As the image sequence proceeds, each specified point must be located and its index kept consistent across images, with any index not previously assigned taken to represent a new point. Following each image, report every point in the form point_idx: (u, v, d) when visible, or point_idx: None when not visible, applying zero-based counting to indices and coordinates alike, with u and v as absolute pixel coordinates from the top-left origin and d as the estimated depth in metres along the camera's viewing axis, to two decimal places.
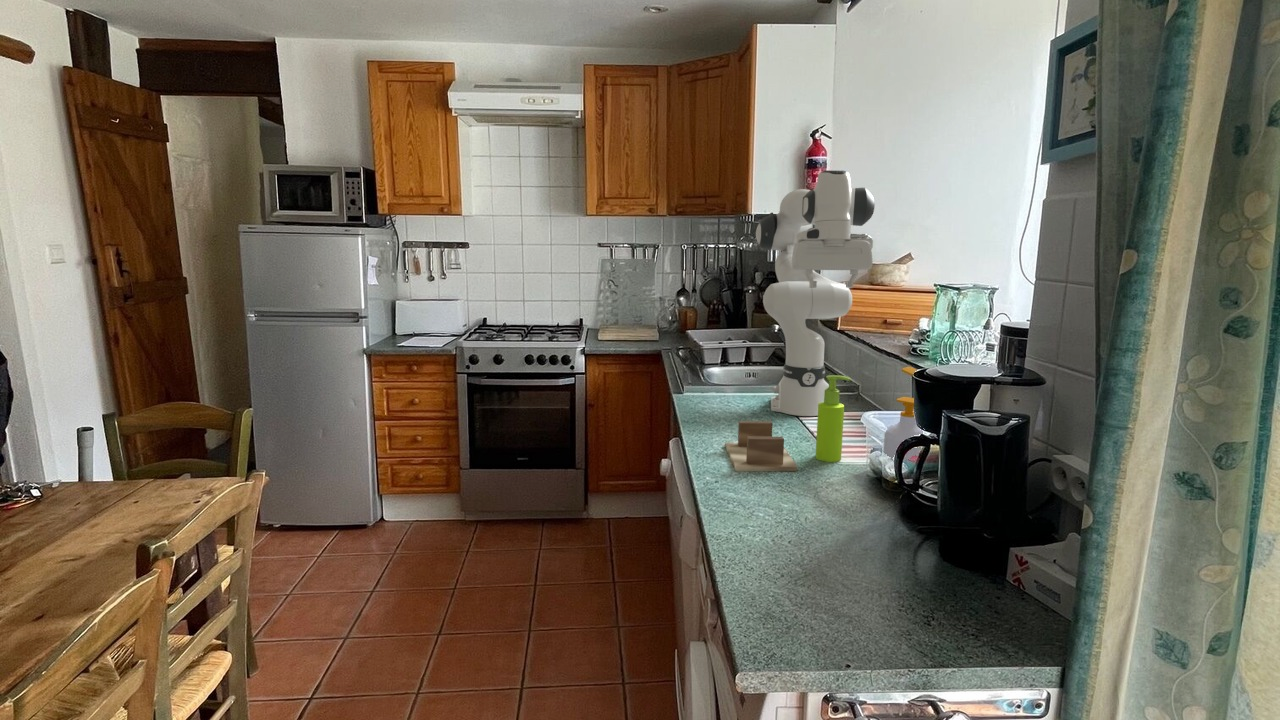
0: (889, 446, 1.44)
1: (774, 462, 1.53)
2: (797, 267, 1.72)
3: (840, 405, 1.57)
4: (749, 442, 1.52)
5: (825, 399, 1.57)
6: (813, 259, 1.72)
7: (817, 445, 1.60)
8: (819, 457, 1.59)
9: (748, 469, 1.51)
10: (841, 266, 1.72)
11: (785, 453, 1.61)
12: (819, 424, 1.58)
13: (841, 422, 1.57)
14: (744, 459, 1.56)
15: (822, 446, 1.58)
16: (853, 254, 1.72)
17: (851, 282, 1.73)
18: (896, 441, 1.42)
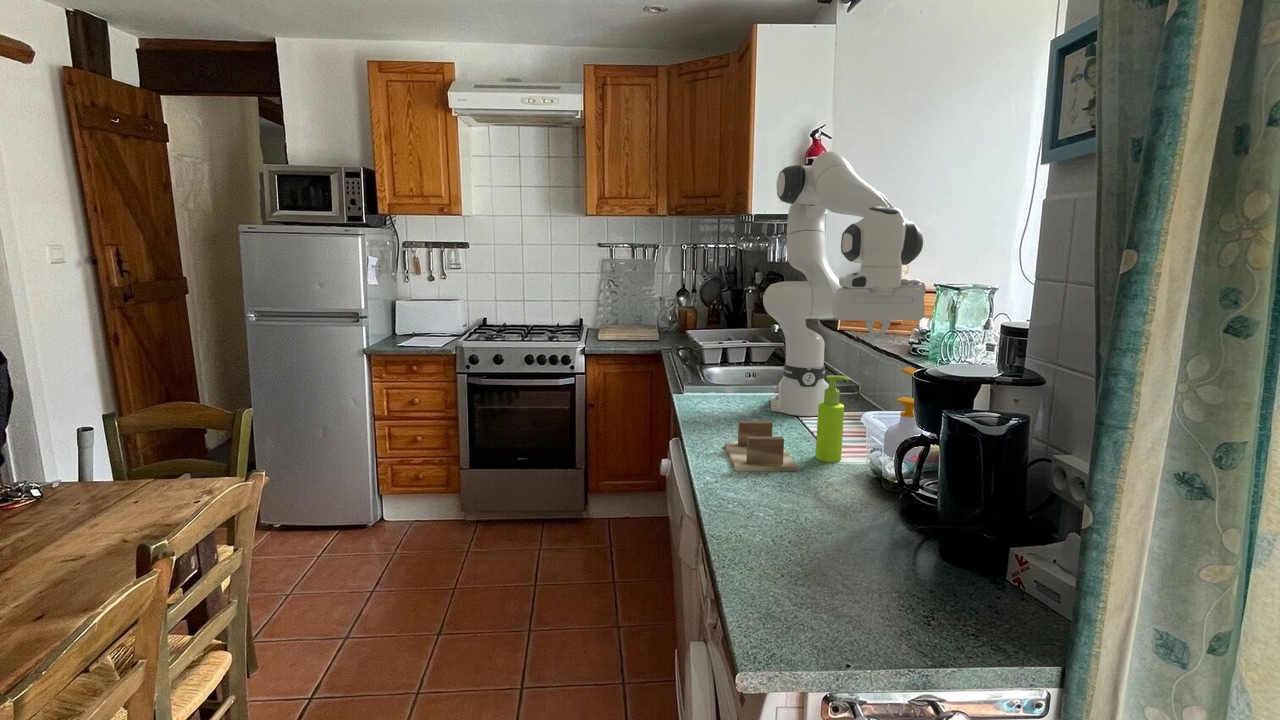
0: (889, 446, 1.44)
1: (774, 462, 1.53)
2: (839, 318, 1.53)
3: (840, 405, 1.57)
4: (749, 442, 1.52)
5: (825, 399, 1.57)
6: (857, 309, 1.52)
7: (817, 445, 1.60)
8: (819, 457, 1.59)
9: (748, 469, 1.51)
10: (889, 317, 1.53)
11: (785, 453, 1.61)
12: (819, 424, 1.58)
13: (841, 422, 1.57)
14: (744, 459, 1.56)
15: (822, 446, 1.58)
16: (903, 304, 1.52)
17: (882, 334, 1.54)
18: (896, 441, 1.42)
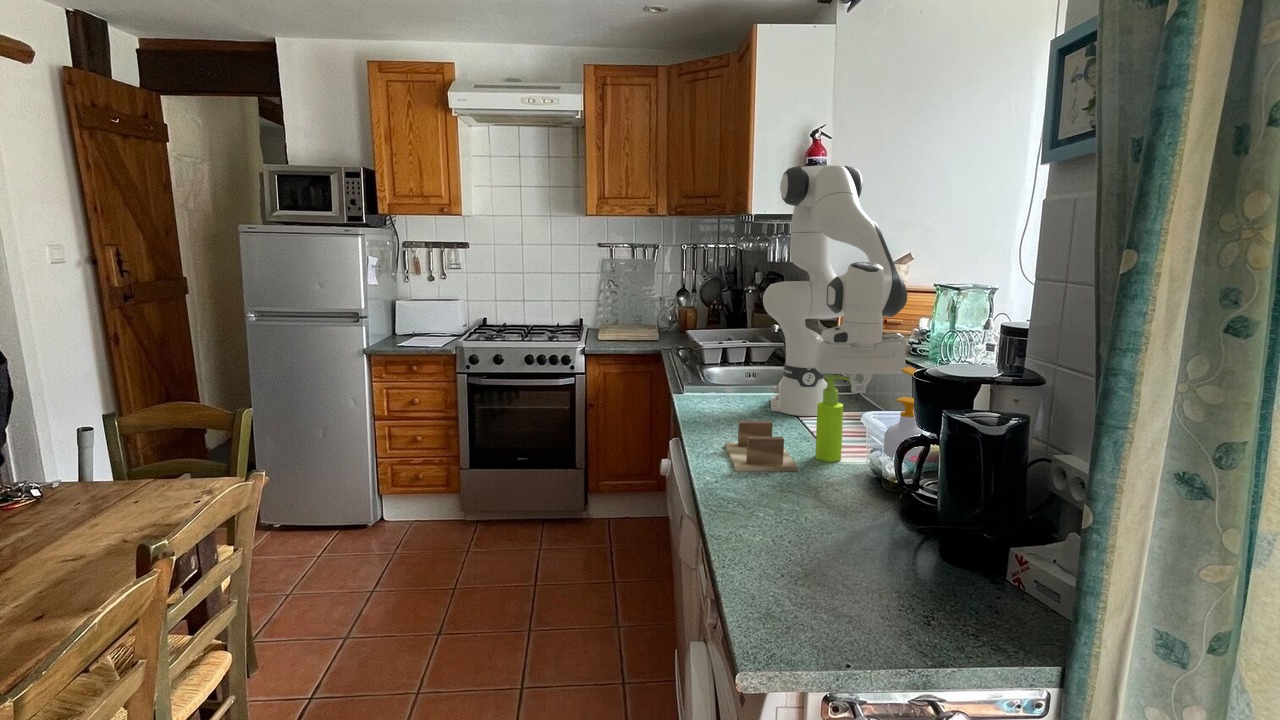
0: (889, 446, 1.44)
1: (774, 462, 1.53)
2: (822, 372, 1.55)
3: (839, 405, 1.57)
4: (749, 442, 1.52)
5: (824, 399, 1.57)
6: (839, 364, 1.55)
7: (817, 445, 1.60)
8: (819, 457, 1.59)
9: (748, 469, 1.51)
10: (870, 371, 1.55)
11: (785, 453, 1.61)
12: (818, 424, 1.58)
13: (840, 422, 1.57)
14: (744, 459, 1.56)
15: (822, 446, 1.58)
16: (885, 358, 1.54)
17: (863, 387, 1.57)
18: (896, 441, 1.42)
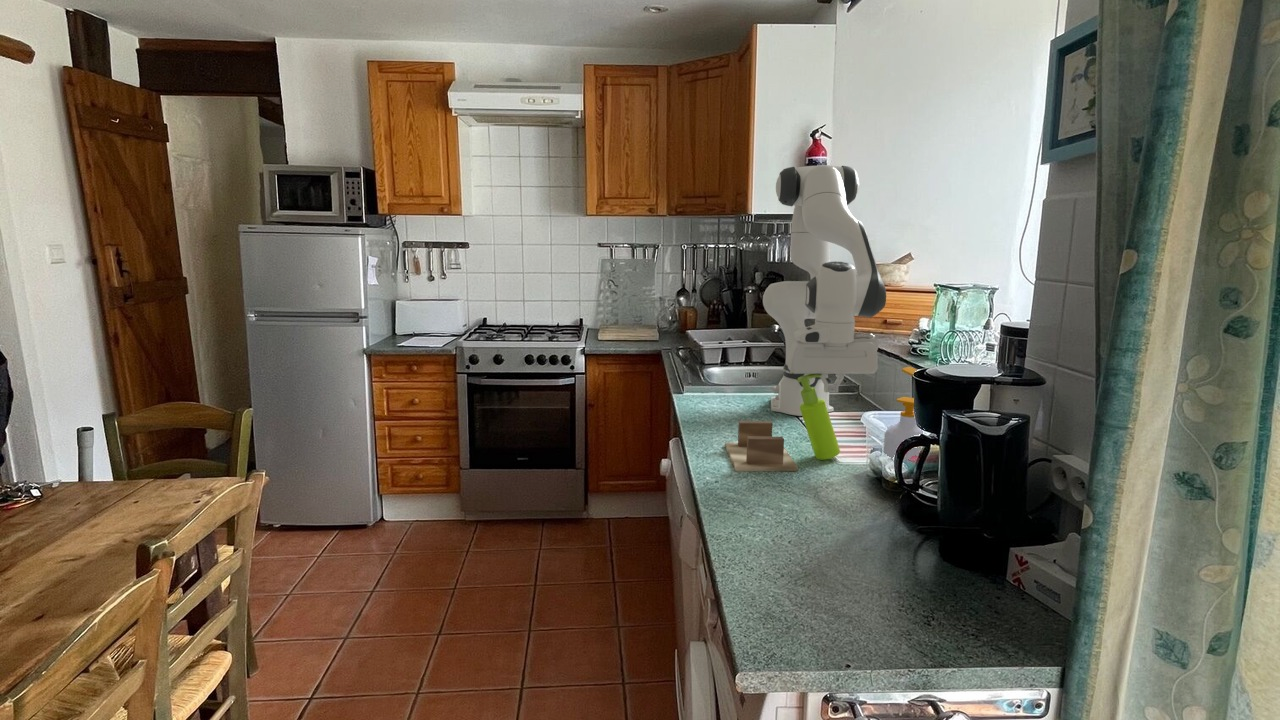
0: (889, 446, 1.44)
1: (774, 462, 1.53)
2: (794, 371, 1.55)
3: (820, 402, 1.57)
4: (749, 442, 1.52)
5: (804, 401, 1.57)
6: (811, 363, 1.54)
7: (812, 446, 1.60)
8: (818, 457, 1.59)
9: (748, 469, 1.51)
10: (843, 370, 1.55)
11: (785, 453, 1.61)
12: (807, 426, 1.58)
13: (827, 418, 1.56)
14: (744, 459, 1.56)
15: (817, 446, 1.58)
16: (857, 358, 1.54)
17: (836, 387, 1.56)
18: (896, 441, 1.42)
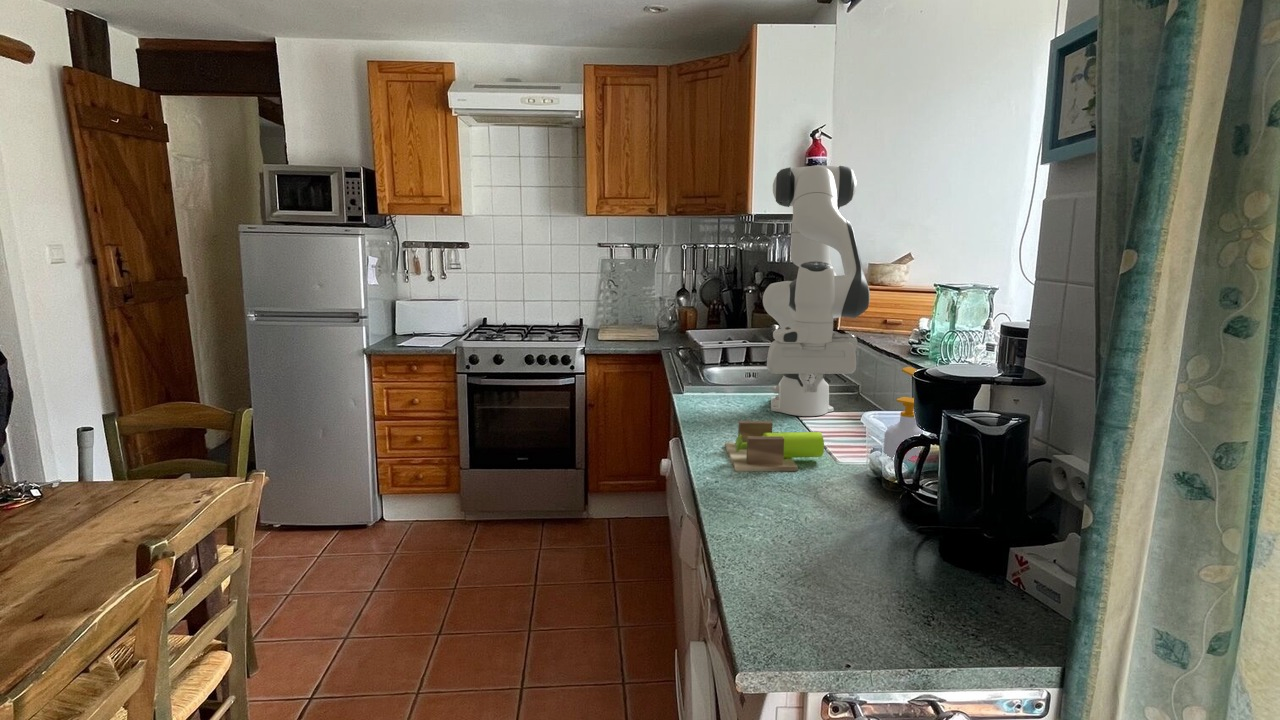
0: (889, 446, 1.44)
1: (774, 462, 1.53)
2: (772, 371, 1.55)
3: None
4: (749, 442, 1.52)
5: None
6: (790, 363, 1.54)
7: None
8: None
9: (748, 469, 1.51)
10: (821, 370, 1.55)
11: None
12: None
13: (784, 447, 1.54)
14: (744, 459, 1.56)
15: None
16: (835, 358, 1.54)
17: (815, 386, 1.56)
18: (896, 441, 1.42)
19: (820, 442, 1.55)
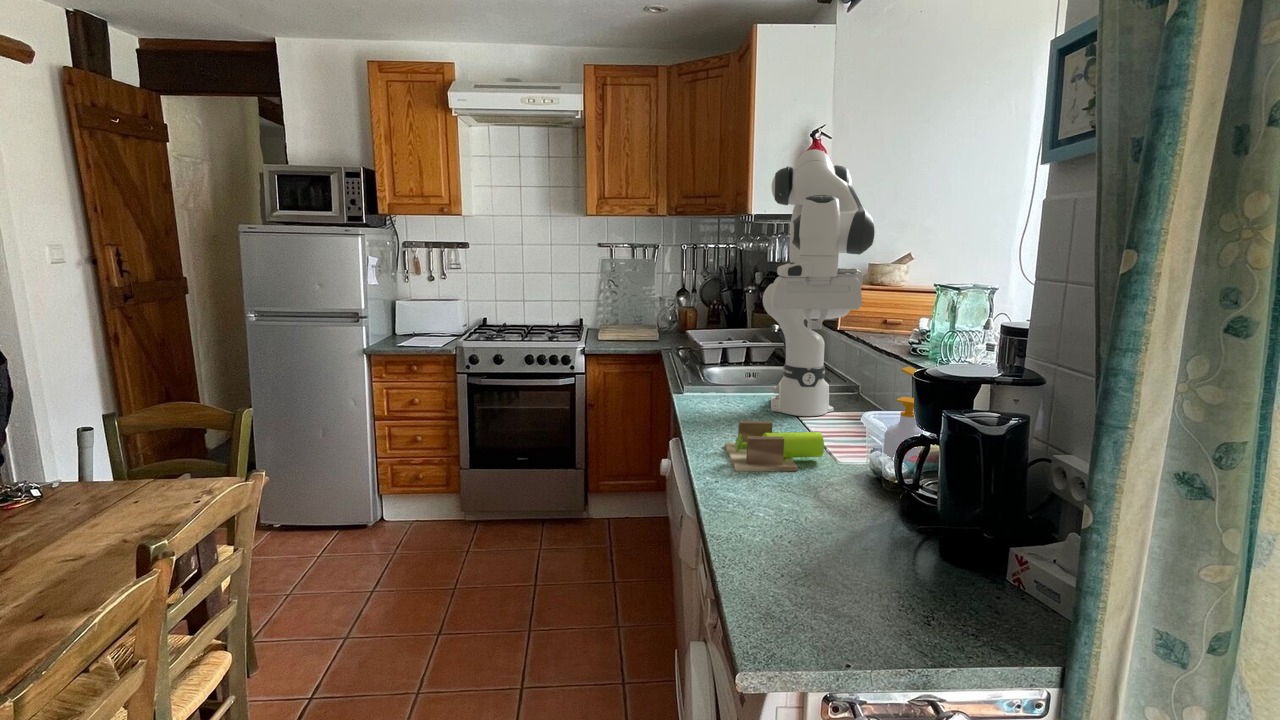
0: (889, 446, 1.44)
1: (774, 462, 1.53)
2: (776, 307, 1.53)
3: None
4: (749, 442, 1.52)
5: None
6: (794, 299, 1.52)
7: None
8: None
9: (748, 469, 1.51)
10: (826, 306, 1.52)
11: None
12: None
13: (784, 447, 1.54)
14: (744, 459, 1.56)
15: None
16: (840, 293, 1.52)
17: (819, 323, 1.54)
18: (896, 441, 1.42)
19: (820, 442, 1.55)
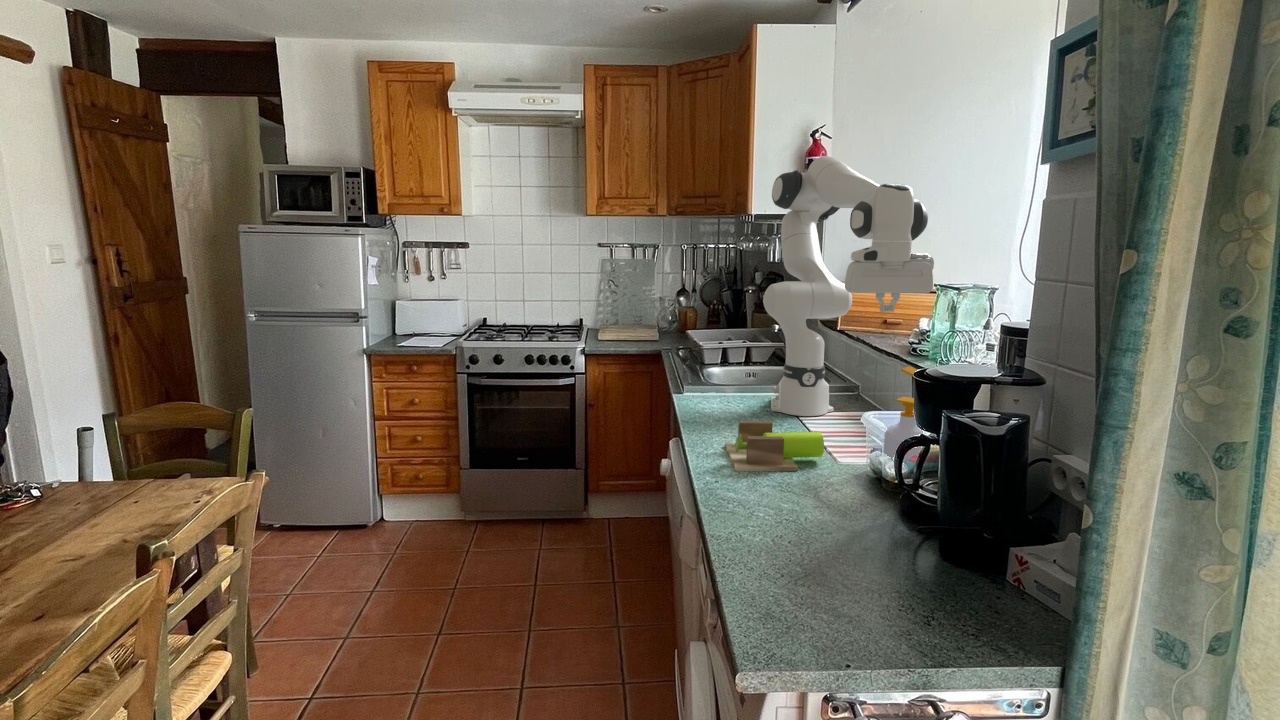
0: (889, 446, 1.44)
1: (774, 462, 1.53)
2: (852, 290, 1.60)
3: None
4: (749, 442, 1.52)
5: None
6: (869, 282, 1.59)
7: None
8: None
9: (748, 469, 1.51)
10: (899, 289, 1.60)
11: None
12: None
13: (784, 447, 1.54)
14: (744, 459, 1.56)
15: None
16: (913, 277, 1.59)
17: (892, 306, 1.61)
18: (896, 441, 1.42)
19: (820, 442, 1.55)
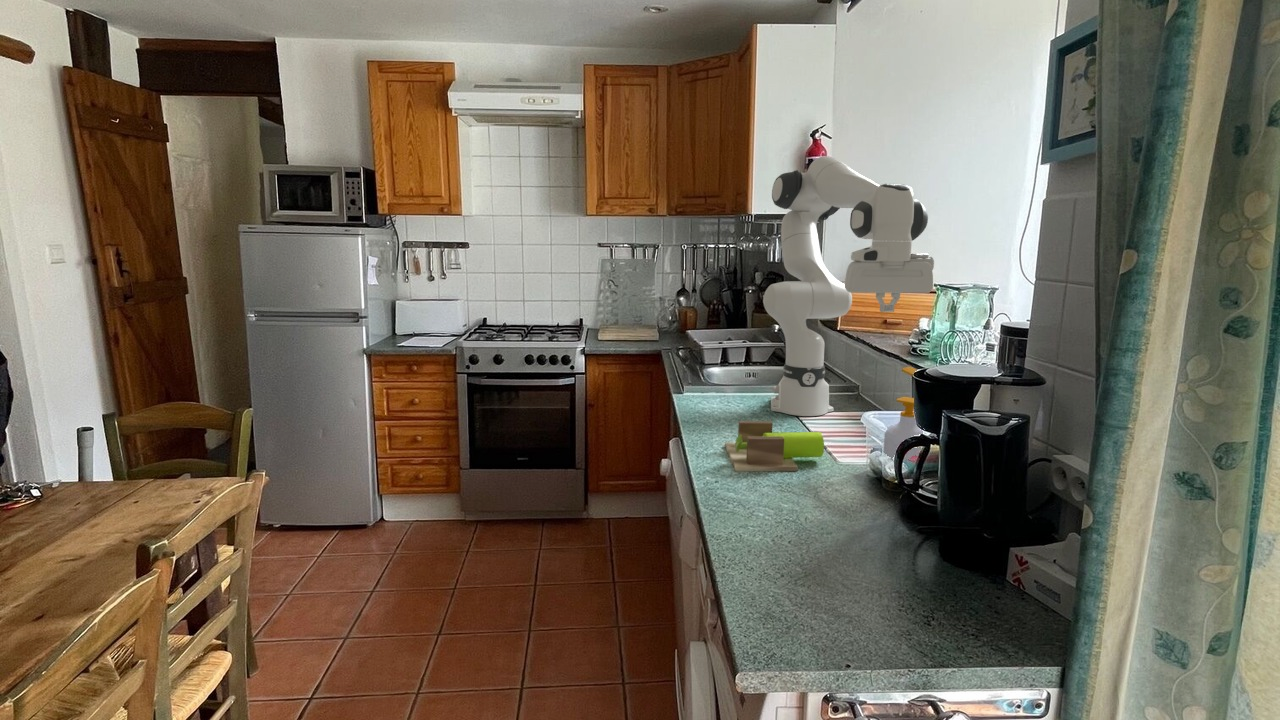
0: (889, 446, 1.44)
1: (774, 462, 1.53)
2: (852, 290, 1.60)
3: None
4: (749, 442, 1.52)
5: None
6: (869, 282, 1.59)
7: None
8: None
9: (748, 469, 1.51)
10: (899, 289, 1.60)
11: None
12: None
13: (784, 447, 1.54)
14: (744, 459, 1.56)
15: None
16: (913, 277, 1.59)
17: (892, 306, 1.61)
18: (896, 441, 1.42)
19: (820, 442, 1.55)
